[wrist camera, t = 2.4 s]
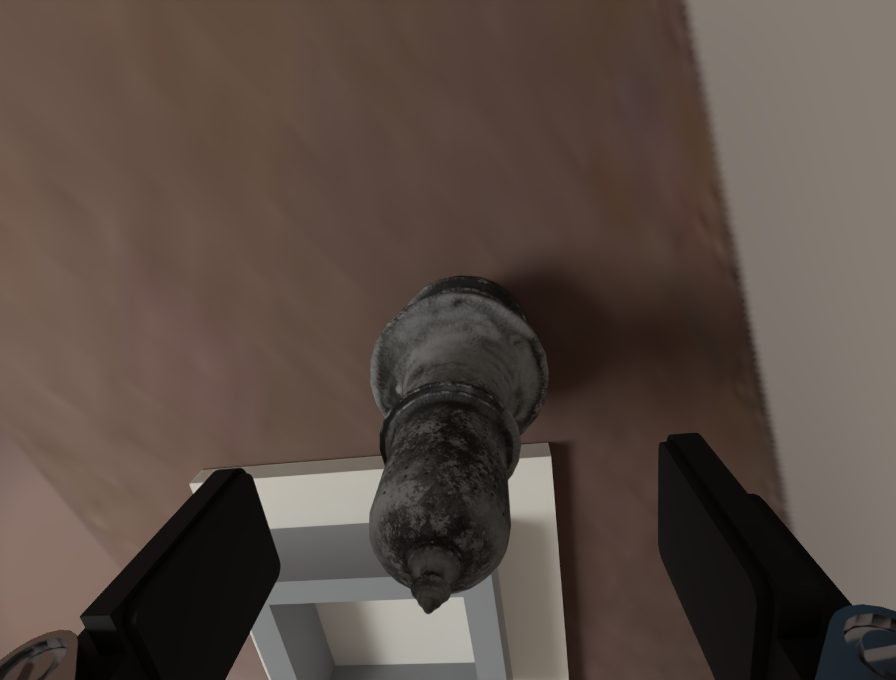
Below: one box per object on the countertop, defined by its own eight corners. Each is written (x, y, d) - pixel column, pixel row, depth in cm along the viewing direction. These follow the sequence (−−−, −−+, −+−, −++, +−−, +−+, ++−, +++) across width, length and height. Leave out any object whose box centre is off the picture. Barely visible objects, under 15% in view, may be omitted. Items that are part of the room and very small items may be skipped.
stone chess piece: (566, 309, 18) (699, 560, 7) (494, 427, 20) (505, 769, 9) (426, 241, 17) (317, 389, 6) (368, 369, 19) (207, 654, 8)
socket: (201, 469, 22) (143, 533, 18) (548, 442, 20) (562, 507, 16) (290, 696, 27) (259, 781, 24) (568, 692, 25) (582, 783, 22)
